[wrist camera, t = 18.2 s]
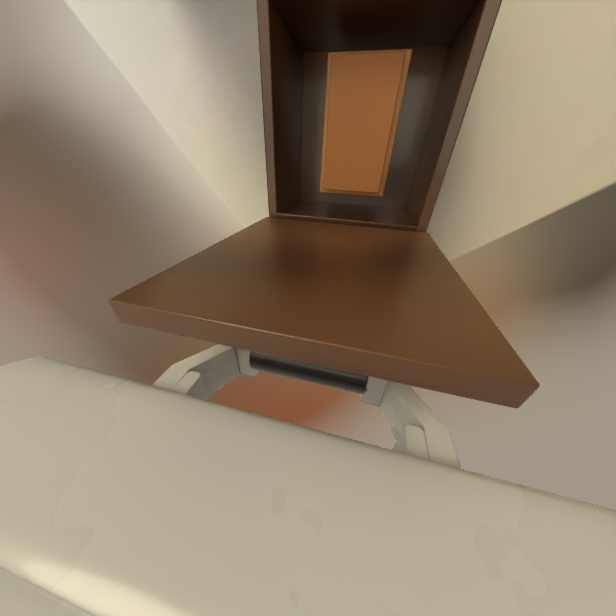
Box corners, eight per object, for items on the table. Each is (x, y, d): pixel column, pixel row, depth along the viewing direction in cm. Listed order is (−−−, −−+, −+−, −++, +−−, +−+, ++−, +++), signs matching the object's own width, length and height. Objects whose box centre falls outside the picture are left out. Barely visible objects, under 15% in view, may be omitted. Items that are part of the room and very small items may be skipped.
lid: (106, 300, 6) (164, 405, 9) (542, 386, 4) (444, 485, 7) (266, 216, 15) (270, 282, 18) (428, 232, 13) (404, 302, 16)
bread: (381, 191, 18) (383, 198, 15) (327, 188, 19) (317, 193, 16) (406, 68, 14) (415, 41, 11) (335, 70, 15) (325, 45, 12)
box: (296, 43, 15) (254, -21, 10) (461, 34, 13) (519, -50, 8) (296, 205, 21) (269, 221, 16) (410, 215, 19) (424, 237, 14)
